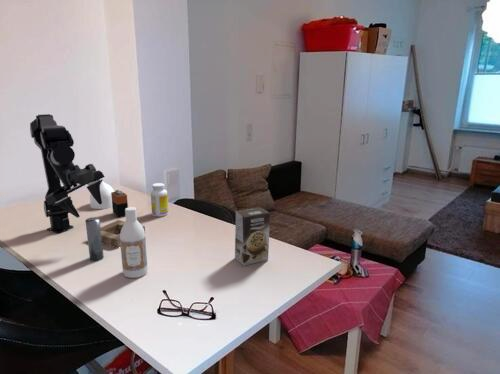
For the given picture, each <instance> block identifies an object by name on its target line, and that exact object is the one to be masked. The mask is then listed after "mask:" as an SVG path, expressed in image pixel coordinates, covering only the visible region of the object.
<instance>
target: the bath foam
mask: <svg viewBox="0 0 500 374" xmlns="http://www.w3.org/2000/svg"><path fill="white" fill-rule="evenodd" d="M125 215H126V216H125V221H124V222H125V224H124V225H123V227H122V229H121V232H119V234H120V245H121V247H120V254H121V266H122V273H123V276H124V277H126V278H129V279H137V278H141V277H143V276H145V275H146V274H147V273H148V255H147V252H148V251H147V238H146V237H147V236H146V230H145V231H144V229H143V227H142V226H143V225H142V224H141V223H140V222H139V220H138V219H137V218H138V217H137V207H135V206H128V208H126V209H125Z"/></svg>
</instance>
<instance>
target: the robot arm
mask: <svg viewBox="0 0 500 374" xmlns="http://www.w3.org/2000/svg"><path fill="white" fill-rule="evenodd" d="M29 133H30V137H31V139H33V141H34V144H35V145H36V147H38V149H39V150H40V152H41V158H42V163H43V167H44V172H45V173H44V175H45V178H46V185H47V191H46V193H45V196H44V199H45V200H43V210H44V211H43V212H44V215H45V217H46V218H49V223H50V227H48V228H47V231H50V232H53V233H57V234H61V233H62V232H65V231H68V230H70V229H74V225H71V223H70V218H69V214H71V215H72V216H73V217H75V218H80V214H79V212H78V210H77V209H76V207H75V205H74V204H73V199H72V198H71V196H69V194H71V193H73V192H74V191H76V190H79V189H80V188H82V187H84V186H86V185H87V186H86V189H87V190H88V191H89V193H90V194H92V196H93V197H94V198H95V200H96V201H97V202H98V203H99V204H102V200H101V194H100V184H101V182H102V181H103V182H104V180H103V178H105V175H104V173H103V172H102V171H101V170H97V169H96V167H95V165H94V164H93V163H88V164H86V165H85V166H84V168H81V167H80V166H79V165H78V164H75V163H74V162H73V161H74V160H75V156H76V154H75V150H74V149H73V148H72V147H73V146H74V144H75V143H74V139H73V136H72V134H71V133H70V132H69V130H68V129H66V127H65V126H63V125H59V124H58V123H57V121H56V120H55V119H54V116H53V114H49V113H47V114H46V113H45V114H38V115H35V119H34V120H33V121H31V122H30V124H29ZM101 179H102V180H101ZM62 185H63V186H62Z"/></svg>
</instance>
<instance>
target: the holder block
mask: <svg viewBox="0 0 500 374" xmlns="http://www.w3.org/2000/svg"><path fill="white" fill-rule="evenodd" d="M125 222H126V221H123V220H119V219H117V220H115V221H112V222H110V223H108V224H105V225H104V226H100V228H101V237H102V243H104V244H103V245H106V244H107V245H106V246H109V245H111V246H110V247H113V246H114V247H113V248H116V247H117V249H120V248H121V245H120V232H121V229H122V227H123V225H124V224H125ZM142 227H143V229H144V231H145V232H146V227H145V225H142ZM117 233H119V234H117ZM119 247H120V248H119Z"/></svg>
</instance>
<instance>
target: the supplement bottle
mask: <svg viewBox="0 0 500 374" xmlns="http://www.w3.org/2000/svg"><path fill="white" fill-rule="evenodd" d="M168 196H169V195H168V191H167V189H165V184H164V183H162V182H155V183H152V190H150V201H151V202H150V203H151V214H152V216H154V217H157V218H159V217H165V216H167V215H168V214H169V198H168Z"/></svg>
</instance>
